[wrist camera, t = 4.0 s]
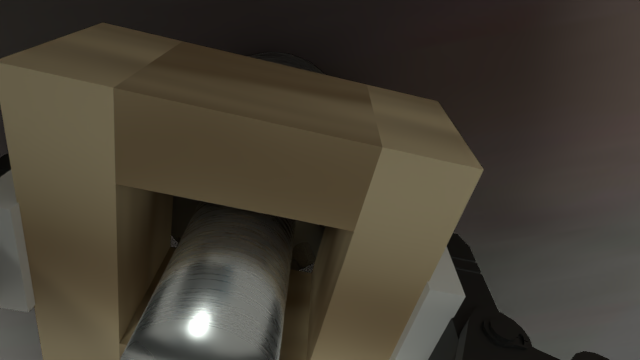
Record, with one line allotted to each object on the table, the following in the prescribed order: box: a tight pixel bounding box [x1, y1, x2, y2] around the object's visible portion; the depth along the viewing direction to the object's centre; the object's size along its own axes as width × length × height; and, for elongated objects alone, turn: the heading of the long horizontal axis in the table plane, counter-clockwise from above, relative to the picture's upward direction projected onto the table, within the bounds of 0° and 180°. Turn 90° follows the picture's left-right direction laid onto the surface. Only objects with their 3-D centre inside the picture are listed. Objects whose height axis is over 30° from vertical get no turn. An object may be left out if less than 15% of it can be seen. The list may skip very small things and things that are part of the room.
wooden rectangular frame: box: [0, 23, 484, 360], centre depth 11 cm, size 10×8×4 cm
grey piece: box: [120, 52, 325, 360], centre depth 12 cm, size 6×6×12 cm
